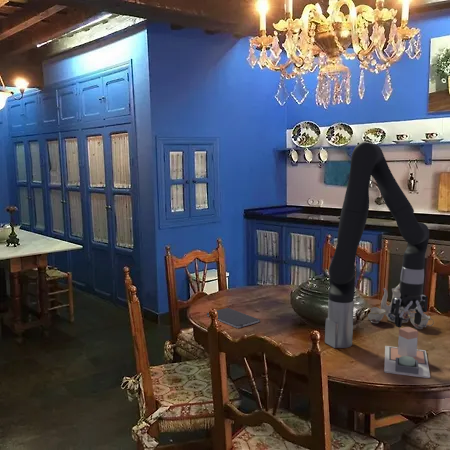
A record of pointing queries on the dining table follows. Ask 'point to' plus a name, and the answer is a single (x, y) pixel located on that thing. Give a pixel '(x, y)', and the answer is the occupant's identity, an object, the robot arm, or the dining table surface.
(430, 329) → the dining table surface
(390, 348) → the picture board
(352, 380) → the dining table surface
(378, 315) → the chinaware
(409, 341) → the white and pink block
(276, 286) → the dining table surface
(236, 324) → the notebook
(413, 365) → the button
